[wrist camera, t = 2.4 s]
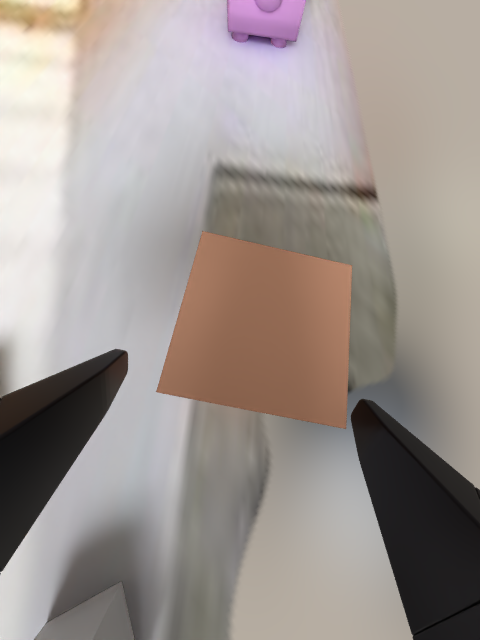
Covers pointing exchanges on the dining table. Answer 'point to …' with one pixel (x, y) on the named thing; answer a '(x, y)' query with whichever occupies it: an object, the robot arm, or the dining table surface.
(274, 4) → the purple boxy handled piece
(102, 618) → the slate grey cube
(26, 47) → the dining table surface
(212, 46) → the dining table surface
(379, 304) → the dining table surface
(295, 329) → the terracotta block
